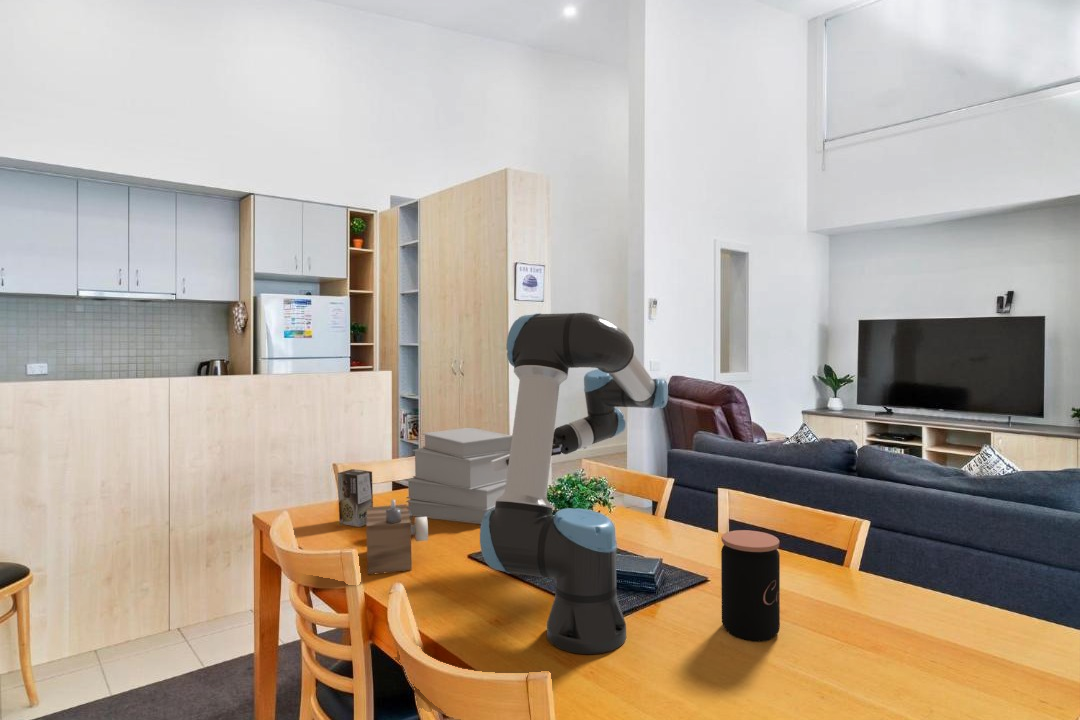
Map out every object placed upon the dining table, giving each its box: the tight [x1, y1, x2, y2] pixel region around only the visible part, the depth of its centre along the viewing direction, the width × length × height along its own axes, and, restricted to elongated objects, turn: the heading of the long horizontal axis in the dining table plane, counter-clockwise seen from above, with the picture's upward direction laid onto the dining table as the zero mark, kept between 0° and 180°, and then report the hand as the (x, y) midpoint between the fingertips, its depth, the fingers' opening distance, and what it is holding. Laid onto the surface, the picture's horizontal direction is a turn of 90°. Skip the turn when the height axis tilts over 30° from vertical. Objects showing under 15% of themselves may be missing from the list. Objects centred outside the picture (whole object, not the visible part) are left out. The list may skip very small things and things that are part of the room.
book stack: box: [405, 427, 512, 525], centre depth 211 cm, size 30×35×26 cm
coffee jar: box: [720, 529, 781, 643], centre depth 124 cm, size 11×11×18 cm
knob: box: [411, 517, 429, 542], centre depth 166 cm, size 6×15×6 cm, turn 105°
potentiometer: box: [386, 499, 401, 524], centre depth 159 cm, size 4×4×5 cm
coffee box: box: [337, 468, 374, 528], centre depth 200 cm, size 9×6×16 cm
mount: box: [366, 503, 413, 575], centre depth 166 cm, size 18×11×12 cm, turn 15°
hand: (493, 466), depth 163 cm, fingers closed
